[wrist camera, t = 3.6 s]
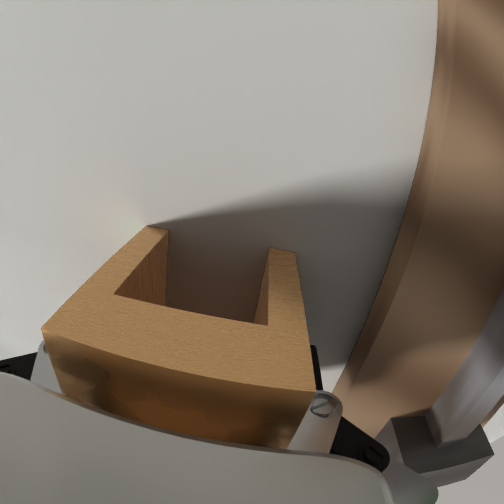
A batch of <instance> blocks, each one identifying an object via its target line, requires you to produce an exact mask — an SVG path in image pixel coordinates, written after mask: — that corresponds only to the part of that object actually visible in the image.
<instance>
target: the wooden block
mask: <svg viewBox="0 0 504 504" xmlns="http://www.w3.org/2000/svg"><path fill="white" fill-rule="evenodd" d="M168 238H169V230H166V229H160V228H155V227H149V226H145V227H144V228H143V229H142V230H141V231H140V232H139V233H137V234H136V235H135V236H134V237H133V238H132V239H131V240H130V241H129V242H127V243H126V244H125V245H124V246H123V247H122V248H121V249H120V250H119V251H118V252H116V253H115V254H114V255H113V256H112V257H111V258H110V259H109V260H108V261H107V262H106V263H105V264H104V265H103V266H102V267H100V268H99V269H98V270H97V271H96V272H95V273H94V274H93V275H92V276H91V277H90V278H89V279H88V280H87V281H86V282H85V283H84V284H83V285H82V286H81V287H80V288H79V289H78V290H77V291H76V292H75V293H74V294H73V295H72V296H71V297H70V298H69V299H68V300H67V301H66V302H65V303H64V304H63V305H62V306H61V307H60V308H59V309H58V310H57V312H56V313H55V314H54V315H53V316H52V317H51V318H50V319H49V320H48V321H47V322H46V323H45V324H44V325H43V327H42V328H41V331H42V334H43V338H44V341H45V345H46V348H47V351H48V354H49V357H50V360H51V363H52V366H53V369H54V372H55V375H56V378H57V381H58V383H59V386H60V389H61V390H62V391H64V392H66V393H67V394H68V397H69V398H72V399H74V400H77V401H79V402H82V403H84V404H87V405H90V406H92V407H95V408H98V409H101V410H104V411H106V412H109V413H112V414H115V415H119V416H122V417H125V418H128V419H131V420H135V421H138V422H141V423H145V424H148V425H152V426H156V427H160V428H163V429H167V430H171V431H176V432H180V433H184V434H189V435H194V436H199V437H203V438H209V439H214V440H220V441H226V442H232V443H238V444H246V445H253V446H261V447H270V448H280V446H281V444H282V445H289V444H290V442H291V441H292V439H293V437H294V435H295V433H296V431H297V429H298V428H299V426H300V424H301V422H302V420H303V418H304V416H305V414H306V412H307V410H308V408H309V406H310V404H311V402H312V400H313V398H314V396H315V394H316V385H315V378H314V370H313V363H312V356H311V349H310V342H309V336H308V329H307V323H306V316H305V310H304V304H303V298H302V292H301V286H300V280H299V274H298V268H297V263H296V257H295V252H290V251H285V250H279V249H274V248H269V252H268V257H267V262H266V266H265V271H264V276H263V281H262V285H261V290H260V295H259V300H258V304H257V309H256V314H255V318H254V323H248V322H242V321H237V320H231V319H225V318H220V317H215V316H210V315H204V314H199V313H194V312H189V311H184V310H180V309H175V308H170V307H166V306H165V302H166V274H167V254H168Z"/></svg>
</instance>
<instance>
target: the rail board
mask: <svg viewBox="0 0 504 504" xmlns="http://www.w3.org/2000/svg"><path fill="white" fill-rule="evenodd" d="M332 394H334V395H335V396H336V397H338V398H339V400H340V401H341V402H342V406H343V412H342V416H343V417H344V418H345V419H347V420H348V421H350V422H351V423H352V424H354V425H355V426H356V427H358V428H359V429H361V430H362V431H363V432H365V433H366V434H368V435H369V436H370V437H372V438H373V439H375V440H376V441H378V442H379V443H381V444H382V445H383V446H384V447H385V448H386V449H387V451H388V452H389V455H390V460H392V461H394V462H395V461H396V460H398V461H399V462H401V463H402V464H404V465H405V466H407V467H409V468H410V469H412V470H413V471H415V472H417V473H418V474H420V475H421V476H423V477H425V478H426V479H428V480H430V481H431V482H433V483H434V484H435V485H436V487H440V486H444V485H448V484H451V483H455V482H458V481H461V480H465V479H466V478H467V477H469V476H470V475H471V474H472V473H474V472H475V471H476V470H477V469H478V468H480V467H481V466H482V465H483V464H484V463H485V462H486V461H488V459H490V458H491V457H492V456H493V455H494V452H493V450H492V448H491V446H490V443H489V441H488V439H487V437H486V435H485V433H484V431H483V427H484V426H485V424H486V423H487V422H488V421H489V420H490V419H491V418H492V416H493V415H494V414H495V413H496V412H497V411H498V409H499V408H500V407H501V406H502V404H503V403H504V0H438V29H437V44H436V56H435V66H434V75H433V83H432V90H431V97H430V103H429V110H428V115H427V121H426V126H425V132H424V137H423V142H422V146H421V151H420V156H419V160H418V164H417V169H416V173H415V177H414V181H413V185H412V188H411V192H410V196H409V200H408V203H407V207H406V210H405V214H404V217H403V220H402V224H401V227H400V230H399V233H398V236H397V240H396V243H395V246H394V249H393V252H392V255H391V257H390V260H389V263H388V266H387V269H386V272H385V274H384V277H383V280H382V282H381V285H380V288H379V290H378V293H377V295H376V298H375V300H374V303H373V305H372V308H371V310H370V313H369V315H368V318H367V320H366V322H365V325H364V327H363V329H362V332H361V334H360V336H359V338H358V341H357V343H356V345H355V347H354V349H353V352H352V354H351V356H350V358H349V360H348V362H347V364H346V366H345V368H344V370H343V372H342V374H341V376H340V378H339V380H338V382H337V384H336V386H335V388H334V390H333V392H332Z"/></svg>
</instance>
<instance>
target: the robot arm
mask: <svg viewBox="0 0 504 504" xmlns="http://www.w3.org/2000/svg"><path fill="white" fill-rule="evenodd" d="M310 349H311V356H312V363H313V370H314V378H315V385H316V394H315V396H314V398H313V400H312V402H311V404H310V406H309V408H308V410H307V412H306V414H305V416H304V418H303V420H302V422H301V424H300V426H299V428H298V429H297V431H296V433H295V435H294V437H293V439H292V441H291V442H290V444H289V445H282V444H281V446H280V448H270V447H261V446H253V445H246V444H238V443H232V442H226V441H220V440H214V439H209V438H203V437H199V436H194V435H189V434H184V433H180V432H176V431H171V430H167V429H163V428H160V427H156V426H152V425H148V424H145V423H141V422H138V421H135V420H131V419H128V418H125V417H122V416H119V415H115V414H112V413H109V412H106V411H104V410H101V409H98V408H95V407H92V406H90V405H87V404H84V403H82V402H79V401H77V400H74V399H72V398H69V397H68V394H67V393H66V392H64V391H62V390H61V389H60V386H59V383H58V381H57V378H56V375H55V372H54V369H53V366H52V363H51V360H50V357H49V354H48V351H47V348H46V345H45V341H44V340H43V341H42V342H41V344H40V346H39V350H38V352H36V353H31V354H27V355H23V356H18V357H14V358H9V359H5V360H1V361H0V504H435V503H436V501H437V498H438V489H437V487H436V485H435V484H434V483H433V482H431V481H430V480H428V479H426V478H425V477H423V476H421V475H420V474H418V473H417V472H415V471H413V470H412V469H410V468H409V467H407V466H405V465H404V464H402V463H401V462H399V461H398V460H396V461H395V462H394V461H392V460H390V455H389V452H388V451H387V449H386V448H385V447H384V446H383V445H382V444H381V443H379V442H378V441H376V440H375V439H373V438H372V437H370V436H369V435H368V434H366V433H365V432H363V431H362V430H361V429H359V428H358V427H356V426H355V425H354V424H352V423H351V422H350V421H348V420H347V419H345V418H344V417H343V416H342V412H343V406H342V402H341V401H340V400H339V398H338V397H336V396H335V395H334V394H332V393H330V392H327V391H323V386H322V380H321V373H320V367H319V361H318V355H317V349H316V346H314V345H310Z"/></svg>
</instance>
